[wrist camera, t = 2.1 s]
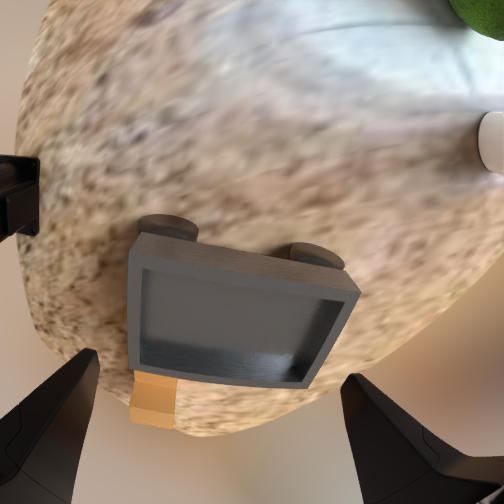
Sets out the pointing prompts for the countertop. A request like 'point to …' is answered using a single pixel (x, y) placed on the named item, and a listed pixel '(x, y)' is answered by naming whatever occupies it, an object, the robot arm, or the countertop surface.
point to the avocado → (482, 16)
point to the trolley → (231, 308)
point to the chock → (153, 399)
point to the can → (492, 141)
